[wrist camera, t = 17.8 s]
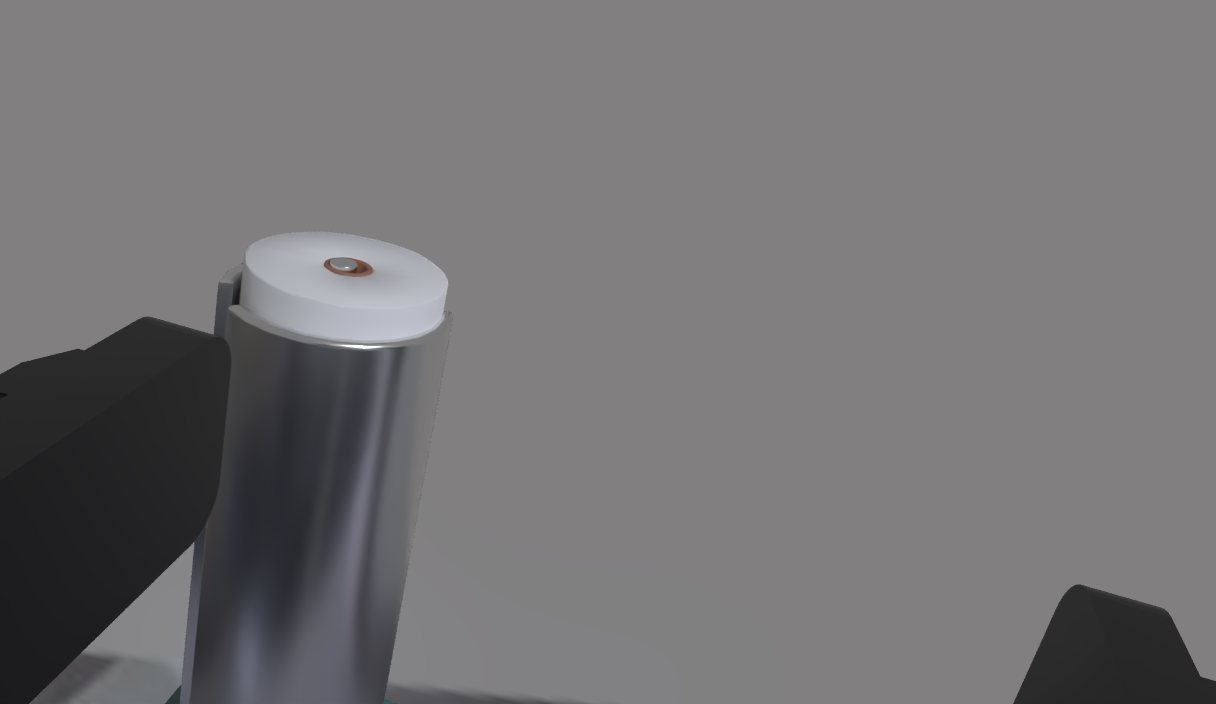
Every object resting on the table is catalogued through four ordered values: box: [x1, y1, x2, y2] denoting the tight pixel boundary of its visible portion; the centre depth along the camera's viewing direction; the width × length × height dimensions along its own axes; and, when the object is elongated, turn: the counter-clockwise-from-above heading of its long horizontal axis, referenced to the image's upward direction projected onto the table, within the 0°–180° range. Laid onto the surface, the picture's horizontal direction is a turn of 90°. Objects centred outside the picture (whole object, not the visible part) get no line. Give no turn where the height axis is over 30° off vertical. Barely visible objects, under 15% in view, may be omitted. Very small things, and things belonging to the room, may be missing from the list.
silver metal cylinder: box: [180, 232, 453, 704], centre depth 36 cm, size 6×6×25 cm
